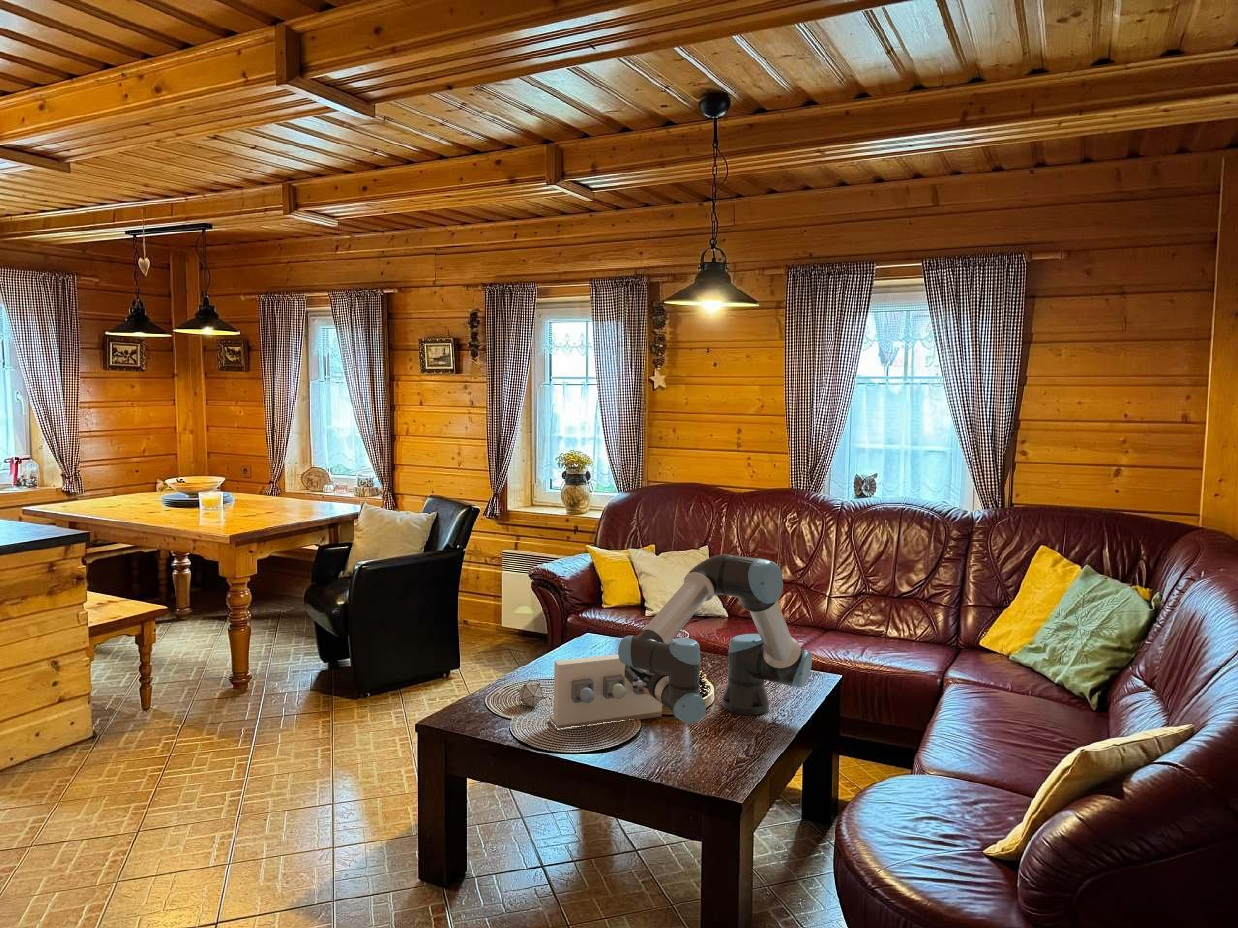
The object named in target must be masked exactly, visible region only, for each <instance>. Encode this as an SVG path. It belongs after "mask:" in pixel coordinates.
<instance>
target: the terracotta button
mask: <svg viewBox="0 0 1238 928" xmlns="http://www.w3.org/2000/svg"><path fill="white" fill-rule="evenodd" d="M642 689H643V691H644V692H645V693H646V694H648V695H651V694H650V693H649V691H648V689H647V688H644V687H643V686H642Z"/></svg>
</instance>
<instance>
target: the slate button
mask: <svg viewBox="0 0 1238 928" xmlns="http://www.w3.org/2000/svg"><path fill="white" fill-rule="evenodd" d="M579 696H580V699H581V700H582V701H583V702H585V703H590V702H592V701H593V699H594V697H595V694H594V692H593V691H592V690H591V689H590V688H588V687H586V688H583V689H582V690H581V691H580V694H579Z"/></svg>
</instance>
